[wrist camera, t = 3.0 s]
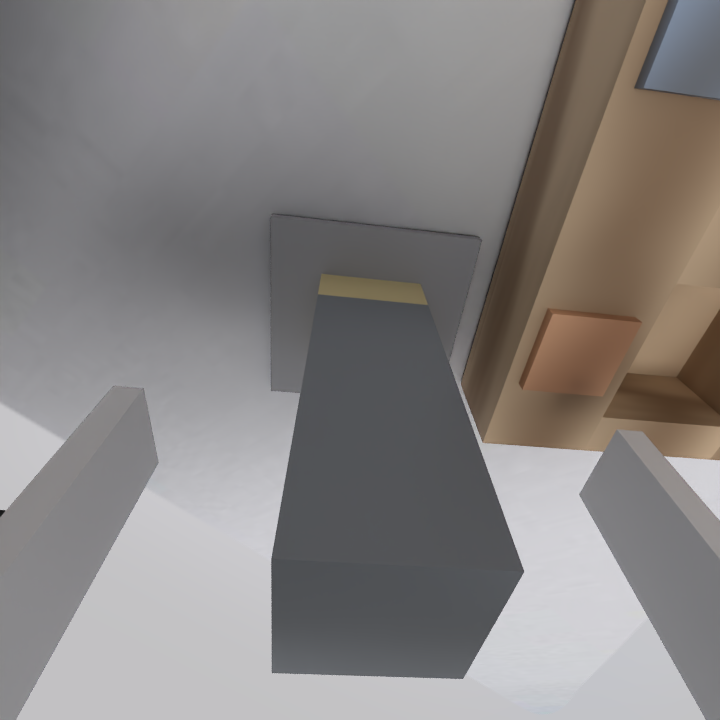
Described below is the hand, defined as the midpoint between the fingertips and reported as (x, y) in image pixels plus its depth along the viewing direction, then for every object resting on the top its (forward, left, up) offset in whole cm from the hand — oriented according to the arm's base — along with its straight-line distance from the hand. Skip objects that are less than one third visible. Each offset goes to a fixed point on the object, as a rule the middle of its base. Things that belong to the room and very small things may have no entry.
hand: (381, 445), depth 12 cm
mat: (0, 0, -7) cm, 7 cm away
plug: (0, 0, -7) cm, 7 cm away
